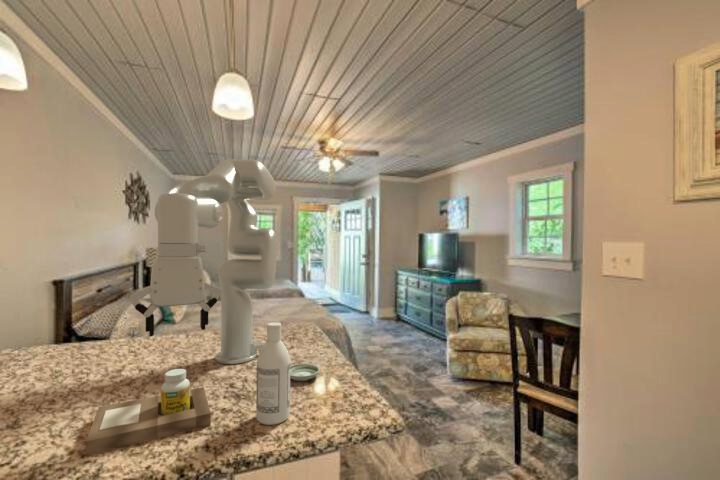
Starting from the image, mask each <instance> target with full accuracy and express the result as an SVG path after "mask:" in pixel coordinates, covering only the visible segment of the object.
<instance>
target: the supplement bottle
mask: <svg viewBox="0 0 720 480" xmlns="http://www.w3.org/2000/svg"><path fill="white" fill-rule="evenodd" d="M186 377H187V370H186V369H184V368H174V369H170V370H168V371H165V373H164V381H165V382H164V383H163V384H161V389H160V395H161V415H160V416H162V415H167V414H171V413H176V412H181V411H185V410H190V409H191V407H190V390H191V383H190V380H189V379H187V378H186Z"/></svg>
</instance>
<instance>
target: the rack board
mask: <svg viewBox="0 0 720 480" xmlns="http://www.w3.org/2000/svg"><path fill="white" fill-rule="evenodd" d="M160 414H161V394H160V395H156V396H155V395H154V396H150V397H149V396H148V397H145V398H140V399H135V400H129V401H124V402H119V403H113V404H108V405H103V406H102V405H101V406H98V409H97V411H96V413H95V416H94V419H93V422H92V425H91V427H90V429H89V432H88V435H87V437H86V440H85V457H88V456H92V455H96V454H99V453H104V452H107V451H112V450H116V449H120V448H125V447H128V446H132V445H136V444H140V443H145V442H149V441H152V440H153V441H154V440H156V439H161V438H165V437H170V436H174V435H178V434H181V433H186V432H188V431H194V430H198V429H202V428H206V427H210V426H211V425H212V424H211V422H212V421H211V417H212V416H211V415H212V412H211V409H210V405H209V402H208V398H207V395H206V391H205V388H204V386H203V387H197V388H196V387H195V388H193V389H191V388H190V410H185V411H181V412H176V413H171V414H167V415H162V416H161V415H160Z"/></svg>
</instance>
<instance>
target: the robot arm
mask: <svg viewBox="0 0 720 480" xmlns="http://www.w3.org/2000/svg"><path fill="white" fill-rule="evenodd" d="M276 188H277V187H276V181H275V179H274V178H273V176H272V174H271V173H270V171H269V170H268V168H267V167H266V166H265V165H264V163H262V162H261V161H259V160H257V159H241V158H240V159H233V158H231V159H225V160H222V161H220V162H218V164H217V165H216V166H214V168H212V169H211V171H209V172H208V173H207V174H206V175H204V176H200V177H196V178H194V179H191V180H189V181H185V182H182V183H179V184H177V185H174V186H173V187H171V188H169V189H168V190H167V191H166V192H164V193H162V194H160V195H158V199H157V202H156V204H155V207H154V217H155V219H156V221H157V257H156V258H155V257H154V258H153V261H152V265H151V271H150V272H151V273H150V285H148V286H146V287H144V288H142V289H140V290H139V291H136V292H135V293H132V294H131V295H130V296H129V298H128V299H129V301H130V302H131V304H132V306H133V307H134V308H135V311H138V312H139V313H140V314H142V315H143V317H145V332H146V333H147V332H149V337H153V336H154V335H155V314H153V313H154V312H155V311H156V310H157V309H158V308H159V307H160V308H163V307H177V306H187V305H199V306H200V308H201V310H200V313H199V315H200V317H199V318H200V320H199V322H200V329H201V330H202V331H204V330H205V331H206V326H208V325H209V312H210V310H211V308H212V307H214V305H216V304H217V303H218V300H219V298H220V300H221V301H220V306H221V308H220V352H218V353H216V355H215V356H214V357H215V361H216V362H218V363H219V364H222V365H223V364H224V365H237V364H241V363H242V364H243V363H247V362H251V361H252V360H255V359H256V358H257V355H258V350H262V348H263V346H264V345H265V343H266V342H261V341H257V342H255V341H253V307H254V305H253V299H252V297H251V296H250V294H249V293H248V291H247V290H268V289H271V288H272V286H274V284H275V279H276V271H277V269H276V268H277V259H278V257H277V256H278V245H279V243H278V242H279V241H278V235H277V233H276V231H275V230H274V229H272V228H269V227H258V213H257V212H256V210H255V209H254V207H253V206H252V205H251V204H250V203H249V202H248V201H269V200H271V199H273V198H274V197H275V194H276ZM247 200H248V201H247ZM224 203H227V205H228V208H229V210H230V224H229V231H228V236H227V237H228V238H227V250H228V252H229V253H230V254H231V255H233V256H235V257H260V259H249V258H234V259H233V258H231V259H227V260H225V261H223V262H221V264H220V265H219V267H218V271H217V274H218V275H217V276H218V283H219V288H218V287H216V286H213V285H212V284H209V283H207V282H205V274H204V265H203V261H202V257H201V256H199V254H200V253H206V246H205V245H199V230H202V229H207V230H208V229H212V228H216V227H217V226H219V224H220V223H221V222H222V219H223V214H224V212H223V208H222V206H221V204H224ZM205 290H206V291H208V292H210V293H212V297H211V298H210V299H208V301H205V293H206V292H205ZM146 295H149V297H150V304H149V305H148V306H146V305H144V304H143V303H142V302H141V300H140V298H143V297H145V296H146Z"/></svg>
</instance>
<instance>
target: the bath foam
mask: <svg viewBox="0 0 720 480" xmlns="http://www.w3.org/2000/svg"><path fill="white" fill-rule="evenodd" d="M264 343H265V345H264V346H263V348H262V349H260V352H259V353H258V357H257V360H256V392H255V393H256V395H255V396H256V399H255V400H256V401H255V402H256V406H255V407H256V408H255V409H256V411H255V413H256V414H255V417H256V420H257V421H258V423H260V424H262V425H267V426H269V425H270V426H273V425H279V424H281V423H283V422H285V421H286V420H287V419H288V418H289V417H290V413H291V412H290V411H291V378H290V366H291V357H290V354H289V353H290V352H289V351H288V349H287V347H286V345H285V344H284V343H283V341H282V323H281V322H269V323H267V324H266V342H264Z"/></svg>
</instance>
